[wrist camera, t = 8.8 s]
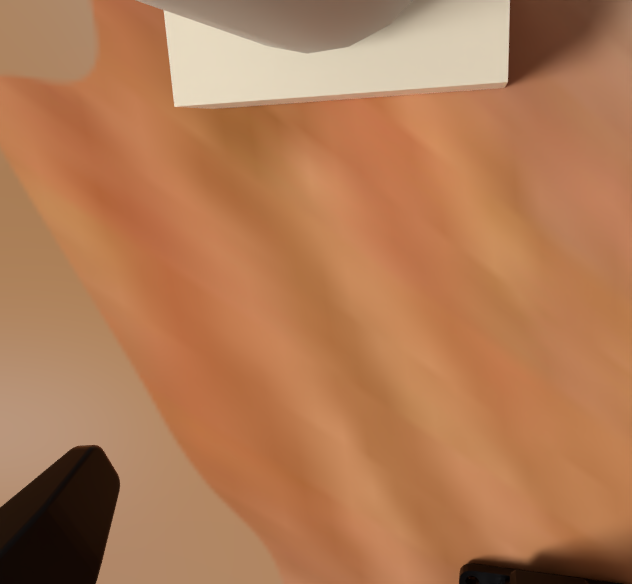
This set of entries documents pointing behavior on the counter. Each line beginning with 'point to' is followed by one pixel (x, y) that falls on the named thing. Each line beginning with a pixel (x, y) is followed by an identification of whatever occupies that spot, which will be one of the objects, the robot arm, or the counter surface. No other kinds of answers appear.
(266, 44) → the can
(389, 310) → the counter surface
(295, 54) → the socket block
